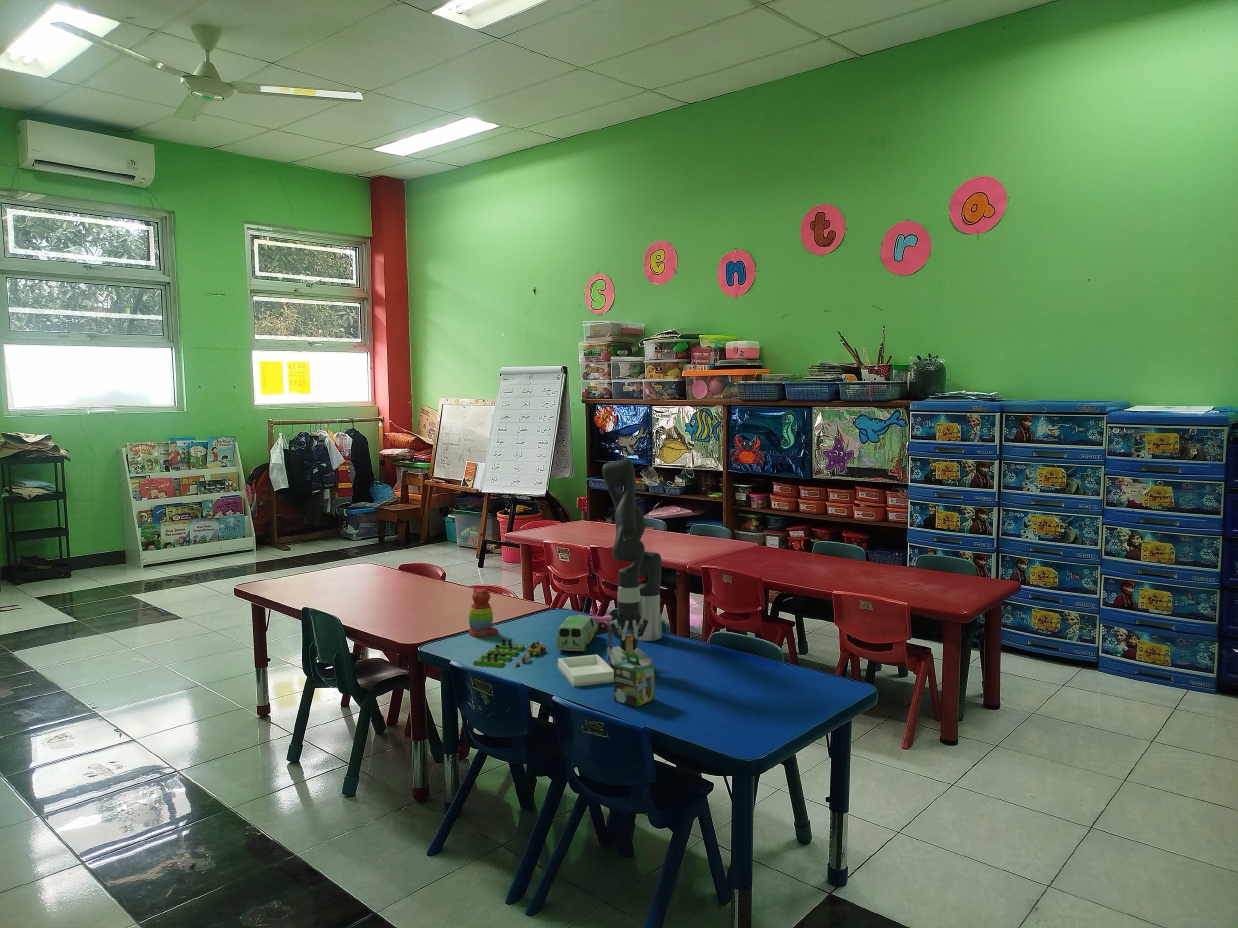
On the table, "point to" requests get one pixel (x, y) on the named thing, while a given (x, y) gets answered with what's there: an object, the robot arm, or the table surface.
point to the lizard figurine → (601, 623)
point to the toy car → (576, 633)
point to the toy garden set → (508, 654)
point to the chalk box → (634, 681)
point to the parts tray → (586, 670)
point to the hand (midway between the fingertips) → (628, 649)
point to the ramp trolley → (622, 652)
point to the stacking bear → (481, 615)
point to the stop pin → (629, 643)
